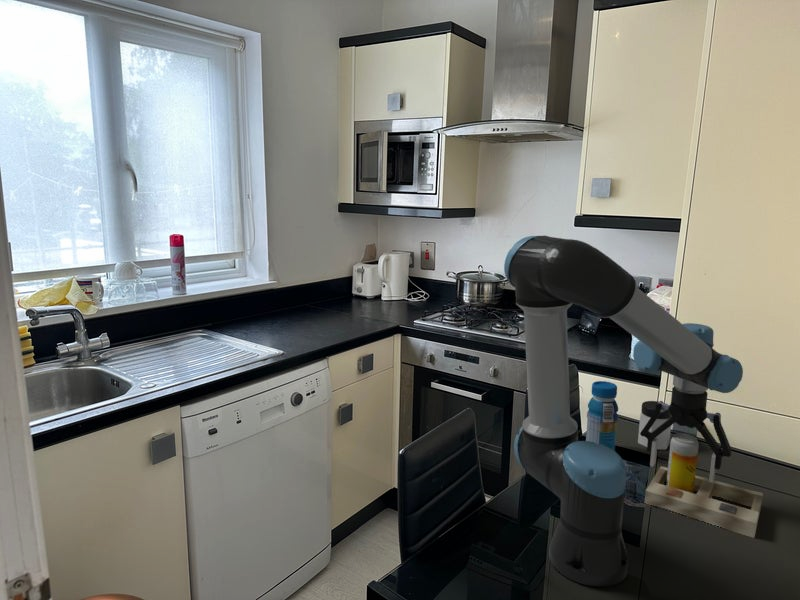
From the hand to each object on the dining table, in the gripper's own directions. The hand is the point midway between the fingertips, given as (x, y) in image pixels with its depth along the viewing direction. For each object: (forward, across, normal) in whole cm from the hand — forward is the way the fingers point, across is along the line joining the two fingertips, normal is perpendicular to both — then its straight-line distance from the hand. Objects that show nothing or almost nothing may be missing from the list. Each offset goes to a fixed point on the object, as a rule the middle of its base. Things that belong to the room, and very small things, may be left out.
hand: (681, 472), depth 138 cm
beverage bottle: (+6, +24, -13) cm, 28 cm away
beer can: (+6, 0, 0) cm, 6 cm away
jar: (+6, +12, -27) cm, 30 cm away
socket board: (+6, -6, +2) cm, 8 cm away
